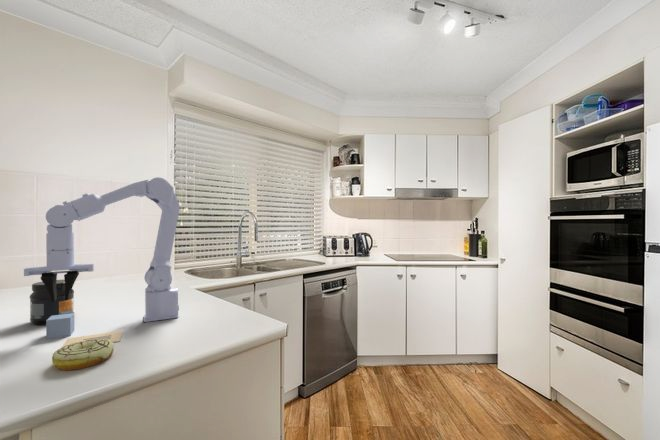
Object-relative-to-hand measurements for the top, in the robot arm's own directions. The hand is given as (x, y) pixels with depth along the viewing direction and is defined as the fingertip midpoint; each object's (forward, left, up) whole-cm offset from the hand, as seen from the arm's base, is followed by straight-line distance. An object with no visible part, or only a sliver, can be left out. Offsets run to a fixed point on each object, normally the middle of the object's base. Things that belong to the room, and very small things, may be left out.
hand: (60, 300), depth 88 cm
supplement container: (+5, -18, -10) cm, 21 cm away
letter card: (-9, +10, -9) cm, 16 cm away
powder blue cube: (0, 0, -10) cm, 10 cm away
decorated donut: (-9, +24, -10) cm, 28 cm away
